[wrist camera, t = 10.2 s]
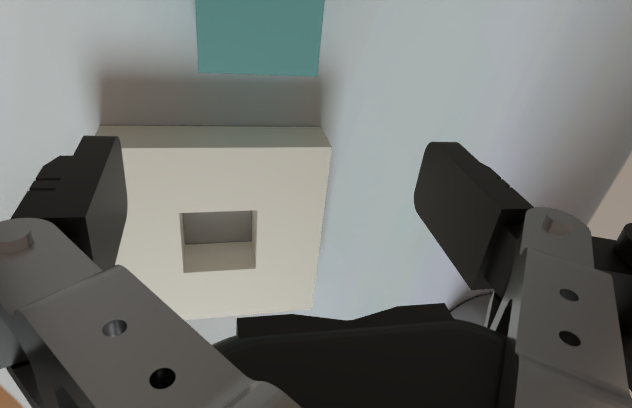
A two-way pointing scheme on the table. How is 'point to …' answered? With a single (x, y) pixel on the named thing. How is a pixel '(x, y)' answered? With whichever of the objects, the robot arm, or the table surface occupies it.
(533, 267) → the robot arm
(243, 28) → the frosted teal cube
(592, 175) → the table surface
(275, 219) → the board
